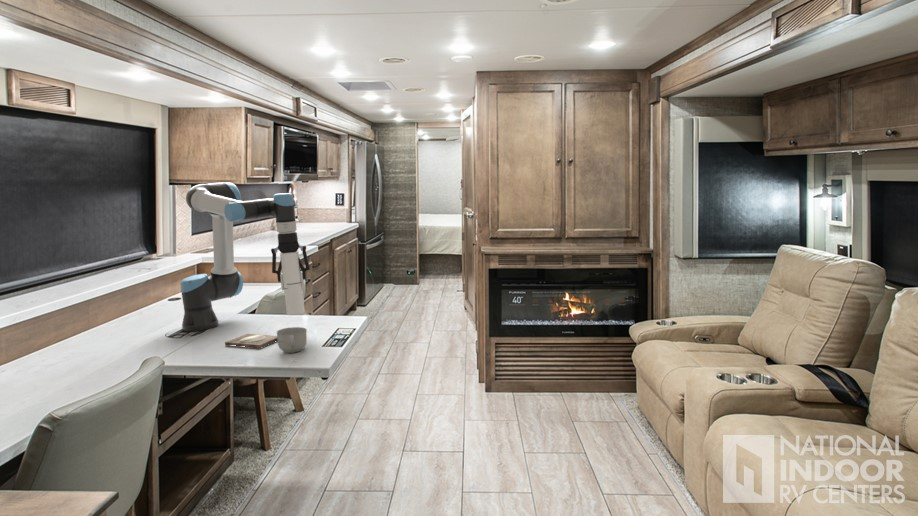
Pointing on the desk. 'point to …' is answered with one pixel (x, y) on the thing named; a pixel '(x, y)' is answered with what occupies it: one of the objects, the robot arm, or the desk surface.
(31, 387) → the desk surface
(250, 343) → the board
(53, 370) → the desk surface
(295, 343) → the teacup
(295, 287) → the cylindrical container
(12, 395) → the desk surface
